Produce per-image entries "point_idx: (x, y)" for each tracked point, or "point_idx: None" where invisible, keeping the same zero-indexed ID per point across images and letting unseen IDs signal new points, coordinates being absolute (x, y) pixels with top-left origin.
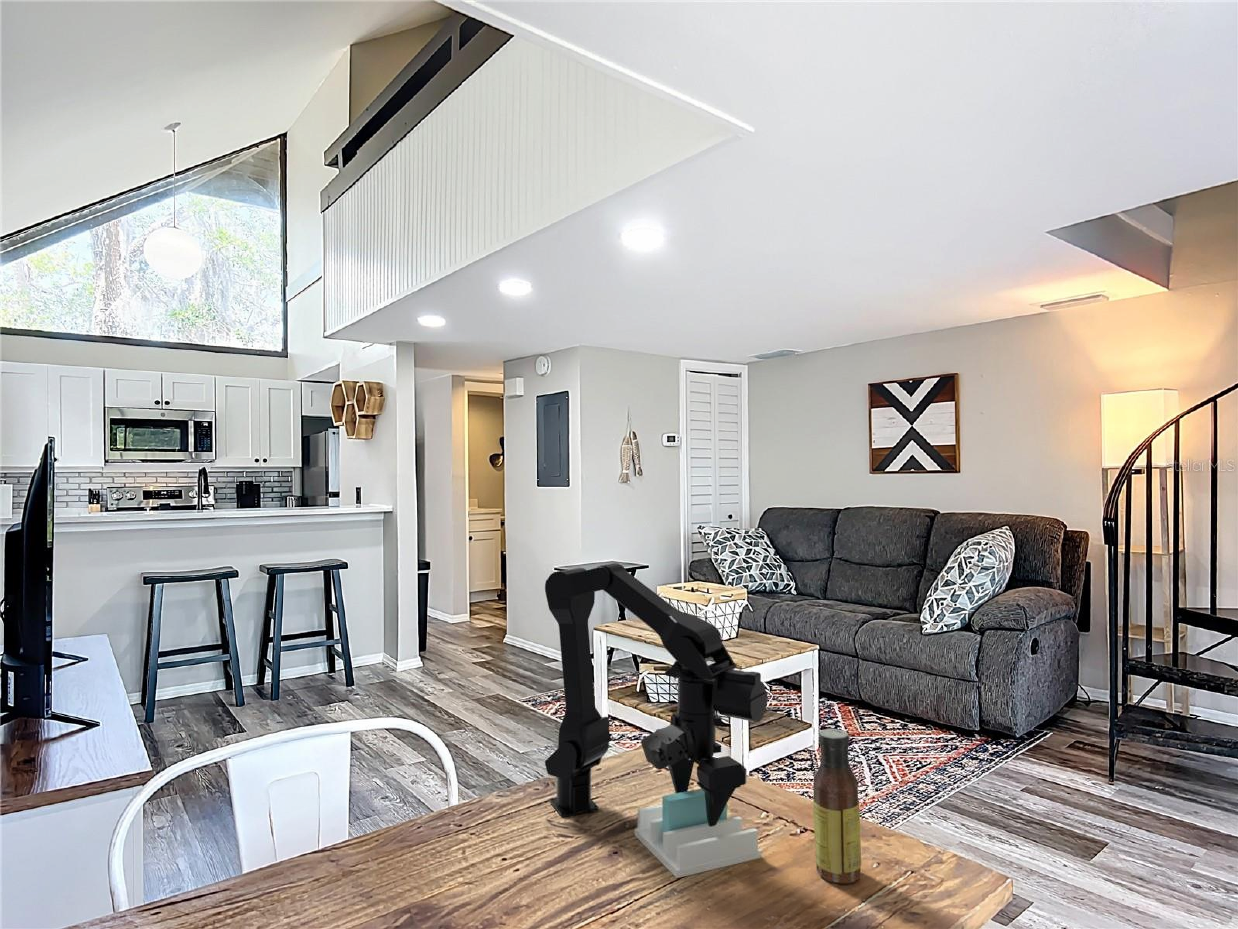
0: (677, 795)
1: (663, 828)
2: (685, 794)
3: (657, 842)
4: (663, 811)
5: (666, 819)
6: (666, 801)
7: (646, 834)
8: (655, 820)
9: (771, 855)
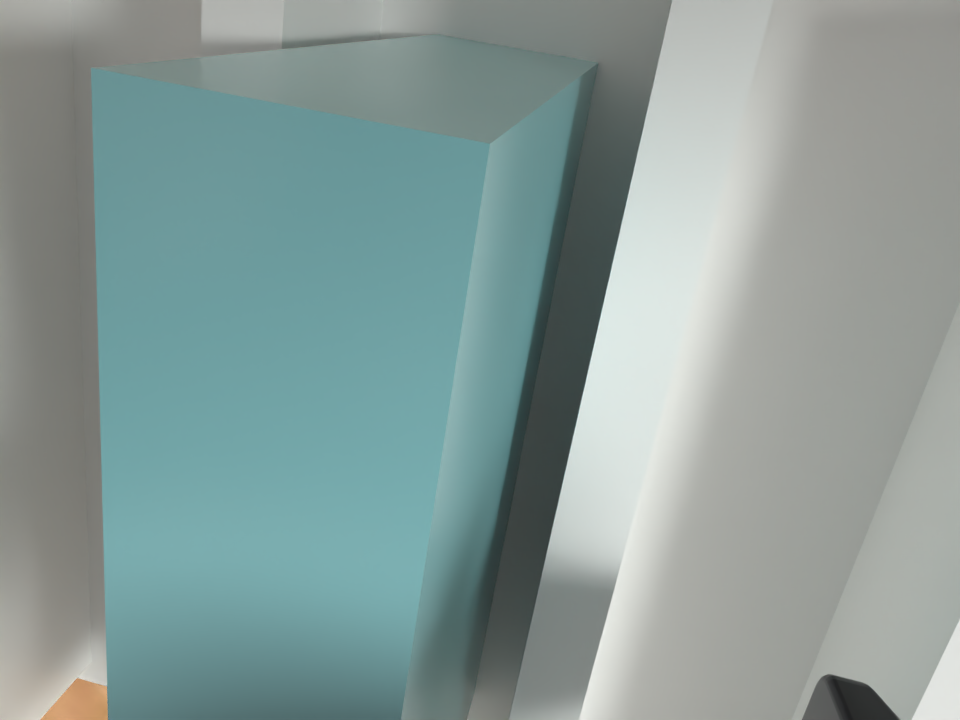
0: (307, 499)
1: (542, 67)
2: (255, 660)
3: (646, 17)
4: (506, 94)
5: (402, 62)
6: (255, 85)
7: (918, 25)
8: (717, 30)
9: (87, 703)
